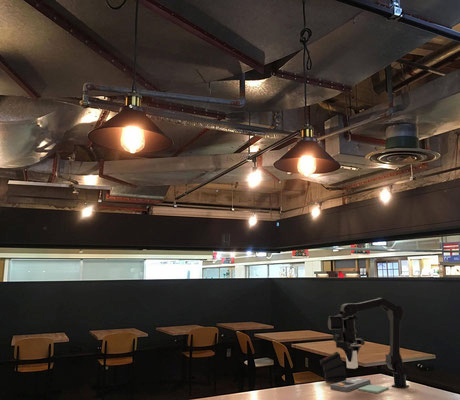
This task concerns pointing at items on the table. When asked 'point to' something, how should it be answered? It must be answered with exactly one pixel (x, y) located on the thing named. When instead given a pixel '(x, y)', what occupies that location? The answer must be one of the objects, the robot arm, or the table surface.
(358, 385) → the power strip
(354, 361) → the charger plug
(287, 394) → the table surface
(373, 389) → the green mat
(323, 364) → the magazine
